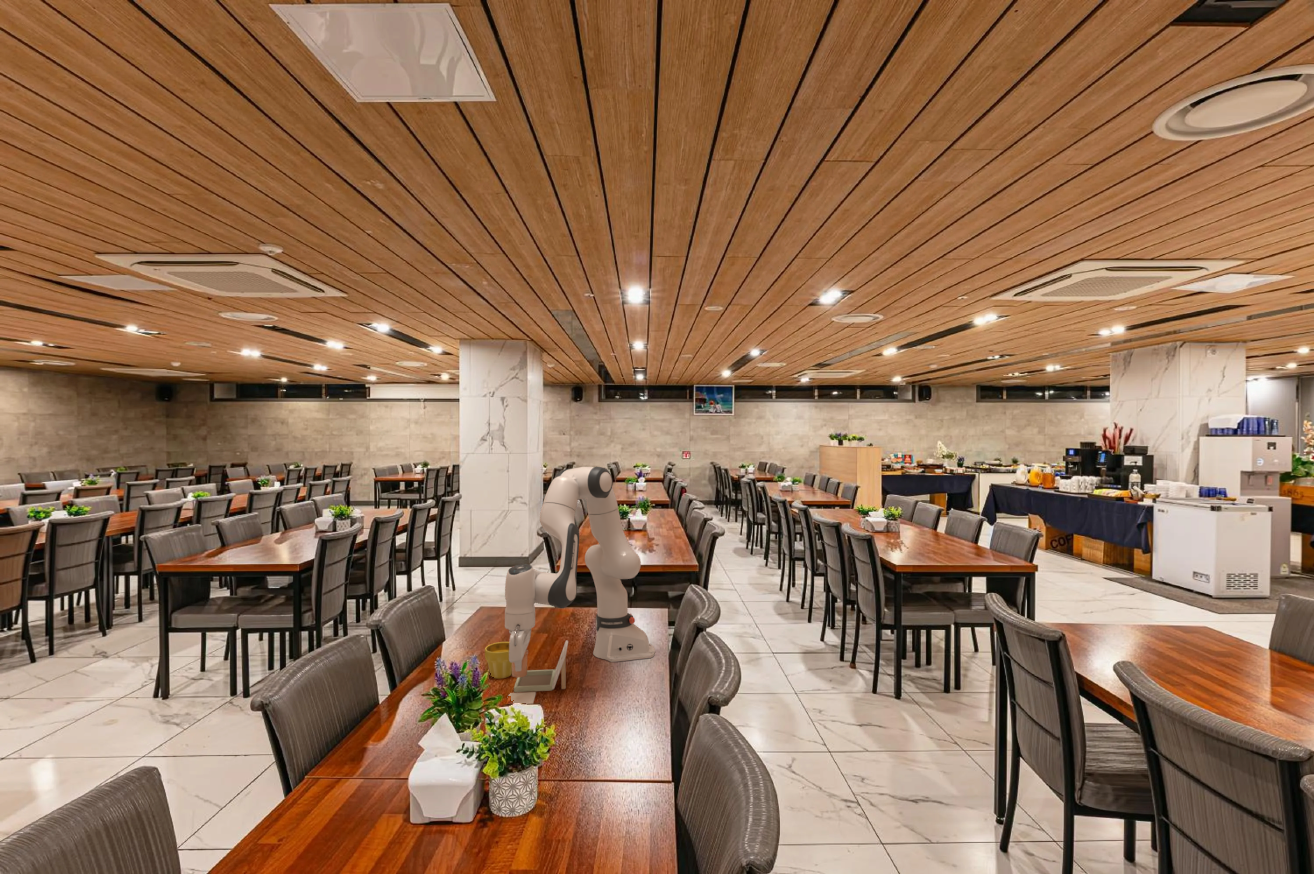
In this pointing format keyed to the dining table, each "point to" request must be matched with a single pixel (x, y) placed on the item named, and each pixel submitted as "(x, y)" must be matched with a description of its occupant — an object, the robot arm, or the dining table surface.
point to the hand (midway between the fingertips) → (519, 666)
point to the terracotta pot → (524, 667)
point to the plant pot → (498, 659)
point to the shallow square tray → (535, 681)
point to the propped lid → (561, 668)
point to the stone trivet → (523, 697)
